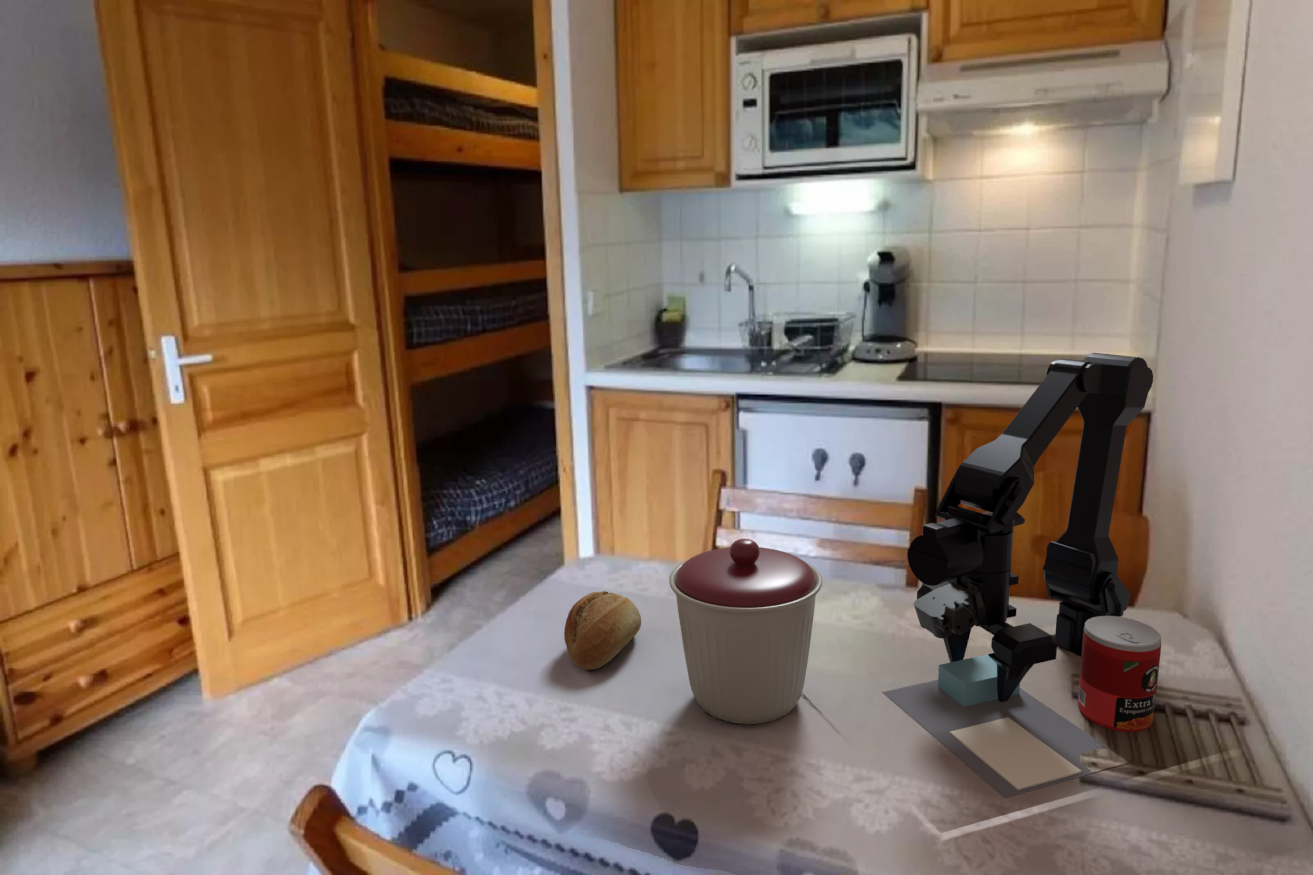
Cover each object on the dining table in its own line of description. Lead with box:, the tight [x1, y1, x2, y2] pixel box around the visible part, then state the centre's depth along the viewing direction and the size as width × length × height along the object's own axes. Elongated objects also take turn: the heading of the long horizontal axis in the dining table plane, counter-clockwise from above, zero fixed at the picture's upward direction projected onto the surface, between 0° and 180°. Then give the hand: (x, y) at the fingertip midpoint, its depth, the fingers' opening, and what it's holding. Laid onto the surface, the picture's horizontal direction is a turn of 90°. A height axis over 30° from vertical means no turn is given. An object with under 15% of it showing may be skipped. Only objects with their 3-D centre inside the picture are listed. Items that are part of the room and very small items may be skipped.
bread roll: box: [563, 590, 642, 671], centre depth 120 cm, size 10×15×8 cm, turn 162°
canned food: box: [1077, 616, 1162, 733], centre depth 99 cm, size 8×8×11 cm
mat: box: [882, 679, 1123, 799], centre depth 99 cm, size 16×22×1 cm
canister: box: [668, 538, 823, 725], centre depth 104 cm, size 18×18×21 cm
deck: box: [937, 653, 1021, 707], centre depth 106 cm, size 8×5×3 cm, turn 108°
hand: (978, 684), depth 106 cm, fingers open, 8 cm apart
